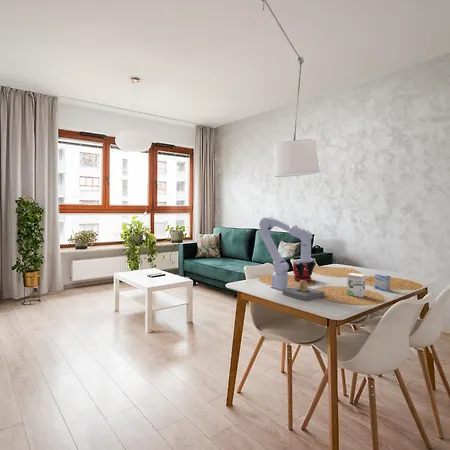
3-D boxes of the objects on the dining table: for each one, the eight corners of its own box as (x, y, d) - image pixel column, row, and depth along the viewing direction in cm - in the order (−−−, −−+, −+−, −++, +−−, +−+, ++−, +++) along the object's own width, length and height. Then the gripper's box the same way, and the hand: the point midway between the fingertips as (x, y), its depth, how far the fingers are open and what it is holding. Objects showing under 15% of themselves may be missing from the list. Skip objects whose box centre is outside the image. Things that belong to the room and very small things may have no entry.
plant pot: (314, 282, 225) (315, 263, 225) (294, 282, 225) (294, 263, 225) (310, 278, 238) (310, 260, 238) (291, 277, 238) (291, 260, 238)
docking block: (282, 294, 194) (282, 290, 194) (302, 290, 204) (302, 286, 203) (304, 300, 181) (304, 296, 181) (324, 296, 191) (324, 291, 190)
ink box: (346, 294, 194) (347, 273, 193) (350, 293, 197) (350, 272, 197) (362, 297, 188) (362, 276, 187) (365, 295, 192) (365, 274, 191)
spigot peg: (298, 294, 193) (298, 280, 193) (303, 294, 195) (303, 280, 195) (303, 296, 190) (303, 282, 189) (308, 295, 192) (308, 281, 191)
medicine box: (374, 288, 209) (374, 274, 209) (379, 287, 211) (380, 273, 210) (384, 291, 202) (384, 276, 202) (390, 290, 204) (390, 275, 203)
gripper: (302, 253, 193) (301, 277, 194) (319, 251, 201) (319, 275, 202) (293, 252, 199) (292, 275, 199) (310, 250, 207) (309, 273, 208)
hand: (305, 275), depth 201 cm, fingers open, 7 cm apart
